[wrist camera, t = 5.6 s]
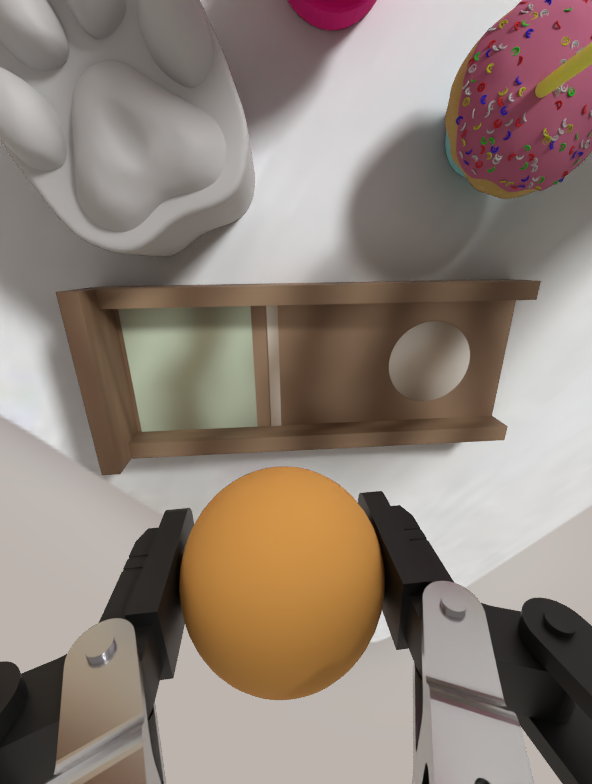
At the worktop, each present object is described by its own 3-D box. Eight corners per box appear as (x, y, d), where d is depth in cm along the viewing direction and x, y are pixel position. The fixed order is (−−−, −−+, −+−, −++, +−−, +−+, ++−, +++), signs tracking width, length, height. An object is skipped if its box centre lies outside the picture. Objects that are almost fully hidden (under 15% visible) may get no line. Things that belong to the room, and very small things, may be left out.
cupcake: (426, 224, 24) (566, 188, 13) (406, 76, 21) (567, -147, 10) (546, 187, 24) (799, 115, 12) (544, 31, 20) (876, -253, 9)
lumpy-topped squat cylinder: (141, 272, 24) (74, 277, 16) (3, 53, 19) (-192, -103, 11) (274, 200, 23) (277, 164, 15) (162, -50, 18) (76, -303, 10)
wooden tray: (510, 279, 26) (564, 282, 21) (482, 423, 30) (521, 453, 25) (98, 286, 24) (55, 292, 19) (130, 439, 28) (101, 475, 23)
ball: (356, 428, 12) (436, 560, 6) (351, 555, 13) (411, 737, 8) (188, 440, 11) (124, 595, 6) (208, 570, 13) (174, 774, 8)
